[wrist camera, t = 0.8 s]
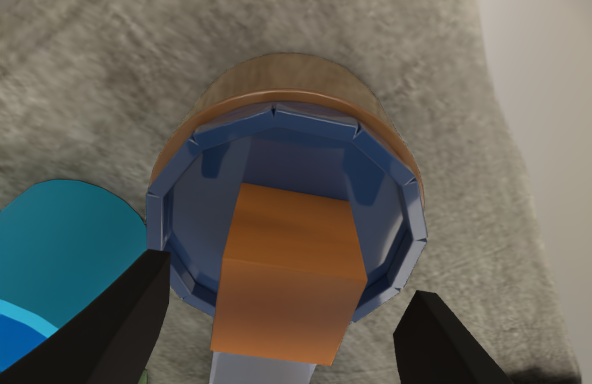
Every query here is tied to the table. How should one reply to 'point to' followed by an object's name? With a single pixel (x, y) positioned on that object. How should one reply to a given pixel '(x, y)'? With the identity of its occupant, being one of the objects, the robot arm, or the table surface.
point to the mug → (59, 258)
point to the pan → (285, 171)
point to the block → (288, 276)
